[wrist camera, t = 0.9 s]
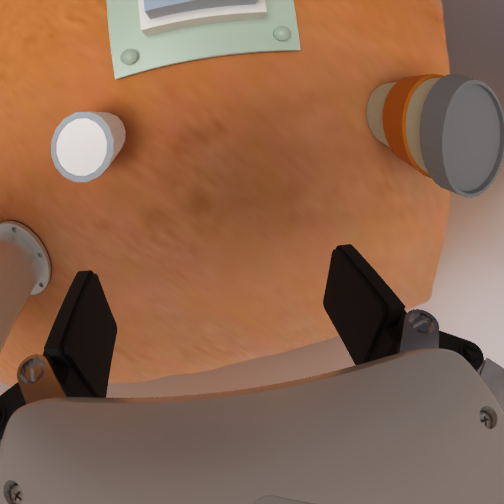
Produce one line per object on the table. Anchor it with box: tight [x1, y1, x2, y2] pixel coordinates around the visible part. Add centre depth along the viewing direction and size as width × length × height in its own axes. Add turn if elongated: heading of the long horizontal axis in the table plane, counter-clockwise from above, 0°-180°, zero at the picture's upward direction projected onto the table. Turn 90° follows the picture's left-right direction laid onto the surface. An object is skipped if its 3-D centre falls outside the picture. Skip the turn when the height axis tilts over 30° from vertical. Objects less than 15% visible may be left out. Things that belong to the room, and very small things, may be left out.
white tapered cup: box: [51, 111, 126, 182], centre depth 24 cm, size 7×7×7 cm
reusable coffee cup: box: [366, 74, 504, 198], centre depth 24 cm, size 12×12×15 cm
